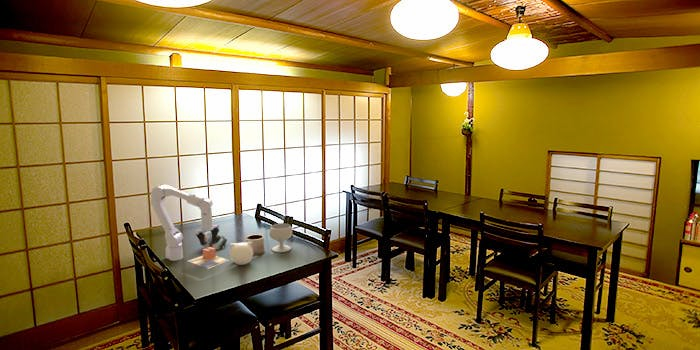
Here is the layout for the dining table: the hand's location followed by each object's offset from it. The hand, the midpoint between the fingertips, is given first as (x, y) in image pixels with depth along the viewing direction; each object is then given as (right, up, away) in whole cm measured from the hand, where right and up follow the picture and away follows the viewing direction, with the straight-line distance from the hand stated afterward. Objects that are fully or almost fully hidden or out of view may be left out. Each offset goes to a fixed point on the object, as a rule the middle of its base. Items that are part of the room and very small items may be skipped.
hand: (208, 243), depth 217 cm
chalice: (+39, -7, +18) cm, 43 cm away
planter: (+24, -8, +13) cm, 28 cm away
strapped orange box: (0, -8, +2) cm, 9 cm away
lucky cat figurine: (-3, -7, +18) cm, 19 cm away
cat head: (+21, -11, -5) cm, 24 cm away
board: (+1, -11, -3) cm, 11 cm away
